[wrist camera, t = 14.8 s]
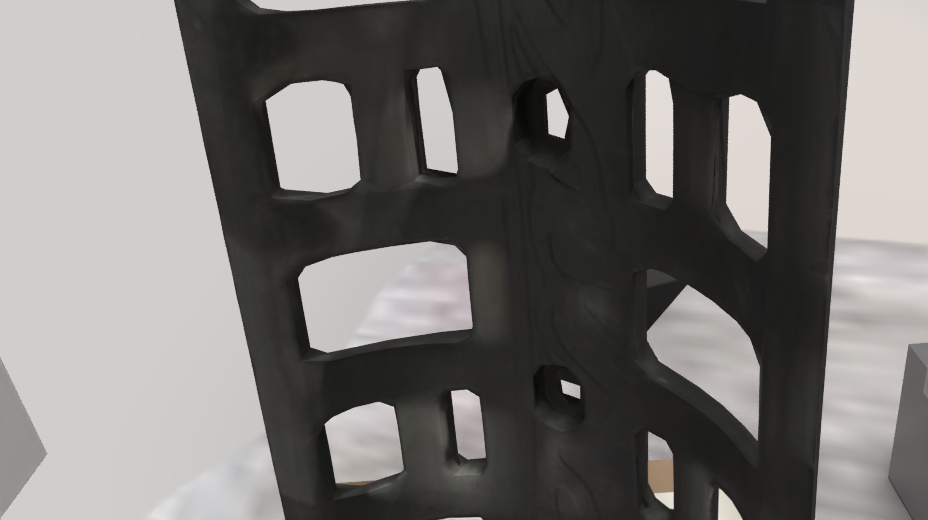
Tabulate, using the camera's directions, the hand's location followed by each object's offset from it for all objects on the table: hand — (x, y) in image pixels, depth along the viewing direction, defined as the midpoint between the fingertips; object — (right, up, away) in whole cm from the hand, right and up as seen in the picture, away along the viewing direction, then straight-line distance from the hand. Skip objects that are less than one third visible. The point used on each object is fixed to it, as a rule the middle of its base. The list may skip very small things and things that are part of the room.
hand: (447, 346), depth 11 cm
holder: (+2, -10, +8) cm, 13 cm away
